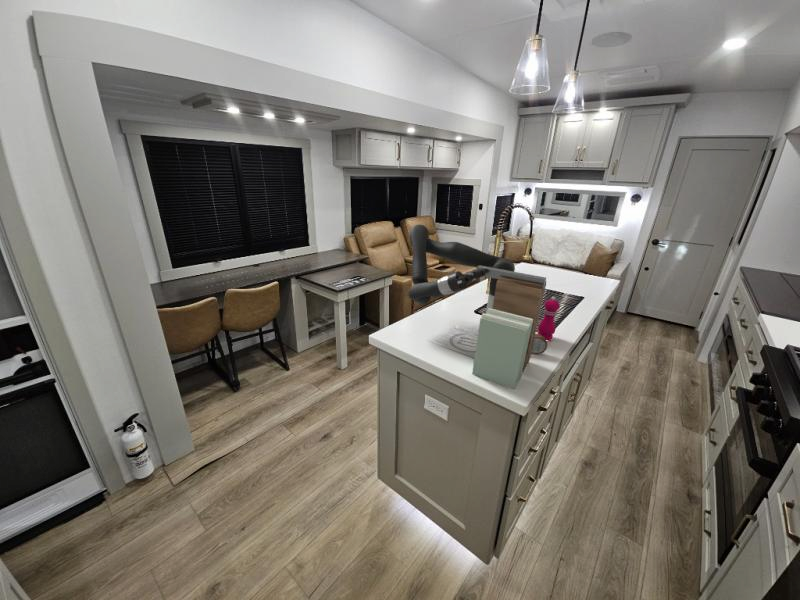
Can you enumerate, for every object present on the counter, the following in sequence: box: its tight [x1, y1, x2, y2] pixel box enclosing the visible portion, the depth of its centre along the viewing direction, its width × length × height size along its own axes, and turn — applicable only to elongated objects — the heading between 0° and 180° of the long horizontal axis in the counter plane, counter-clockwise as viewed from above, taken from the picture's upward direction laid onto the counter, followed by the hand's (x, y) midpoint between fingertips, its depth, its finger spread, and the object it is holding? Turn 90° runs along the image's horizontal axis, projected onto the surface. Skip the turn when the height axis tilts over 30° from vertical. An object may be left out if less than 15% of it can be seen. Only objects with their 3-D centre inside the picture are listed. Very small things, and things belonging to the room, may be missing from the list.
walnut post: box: [492, 277, 547, 373], centre depth 118 cm, size 9×15×33 cm, turn 57°
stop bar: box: [475, 266, 547, 287], centre depth 114 cm, size 3×24×3 cm, turn 57°
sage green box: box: [471, 308, 533, 390], centre depth 110 cm, size 9×15×23 cm, turn 57°
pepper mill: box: [537, 296, 561, 341], centre depth 141 cm, size 7×7×20 cm
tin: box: [531, 333, 548, 355], centre depth 130 cm, size 15×3×8 cm, turn 74°
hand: (488, 270), depth 118 cm, fingers open, 8 cm apart
